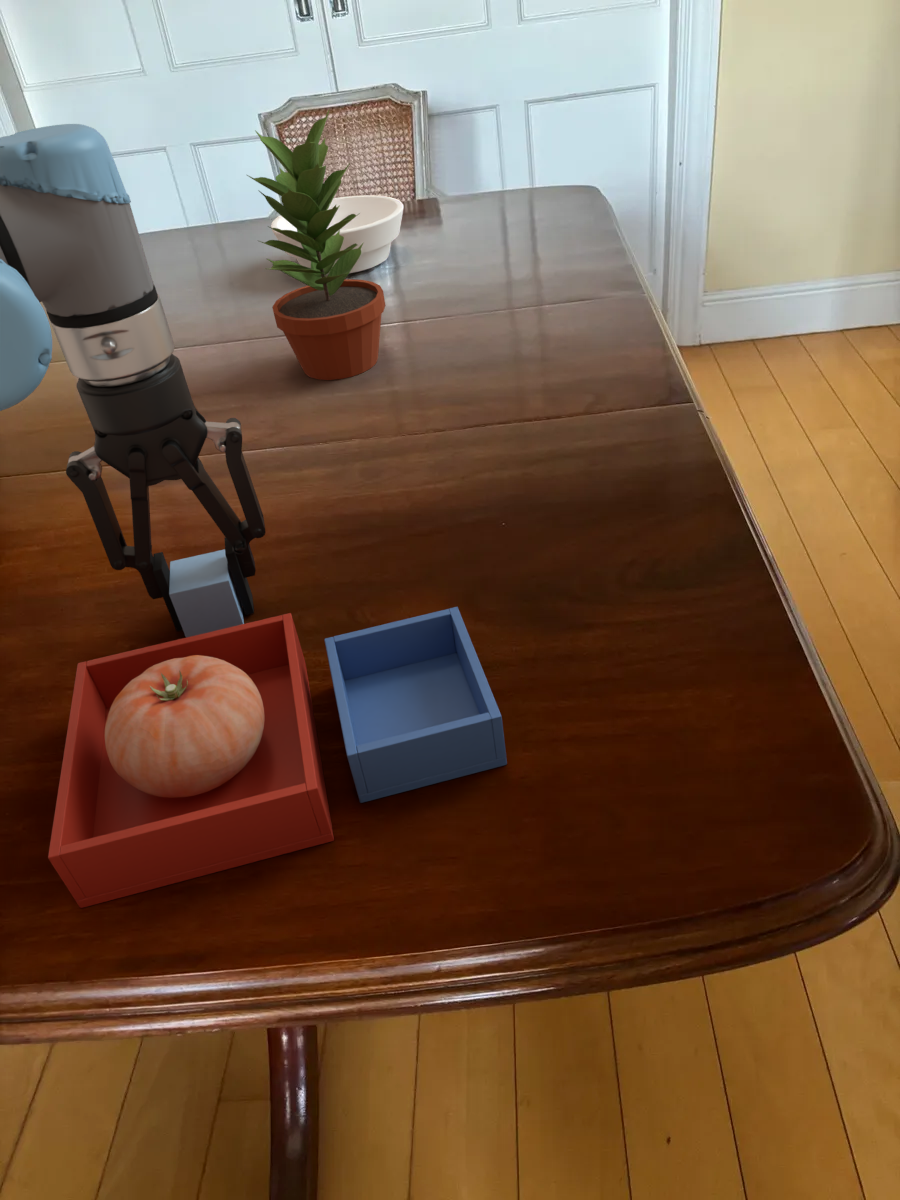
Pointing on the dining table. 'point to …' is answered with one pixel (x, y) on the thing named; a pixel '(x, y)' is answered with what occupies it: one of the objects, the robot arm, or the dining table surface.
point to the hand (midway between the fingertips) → (214, 612)
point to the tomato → (184, 726)
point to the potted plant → (321, 268)
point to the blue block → (204, 593)
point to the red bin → (205, 821)
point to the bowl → (358, 228)
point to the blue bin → (414, 704)
